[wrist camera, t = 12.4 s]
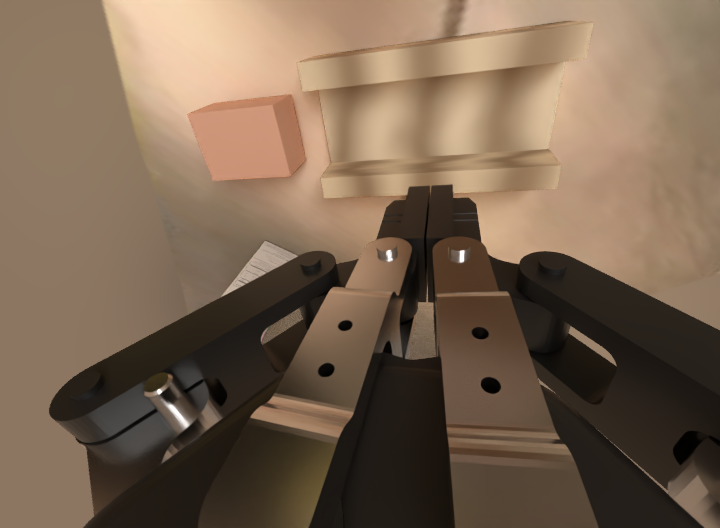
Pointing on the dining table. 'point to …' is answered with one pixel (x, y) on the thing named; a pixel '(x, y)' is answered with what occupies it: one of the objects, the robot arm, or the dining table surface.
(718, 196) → the dining table surface
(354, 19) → the dining table surface
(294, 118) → the block
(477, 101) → the chute
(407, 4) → the dining table surface
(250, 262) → the syrup box
